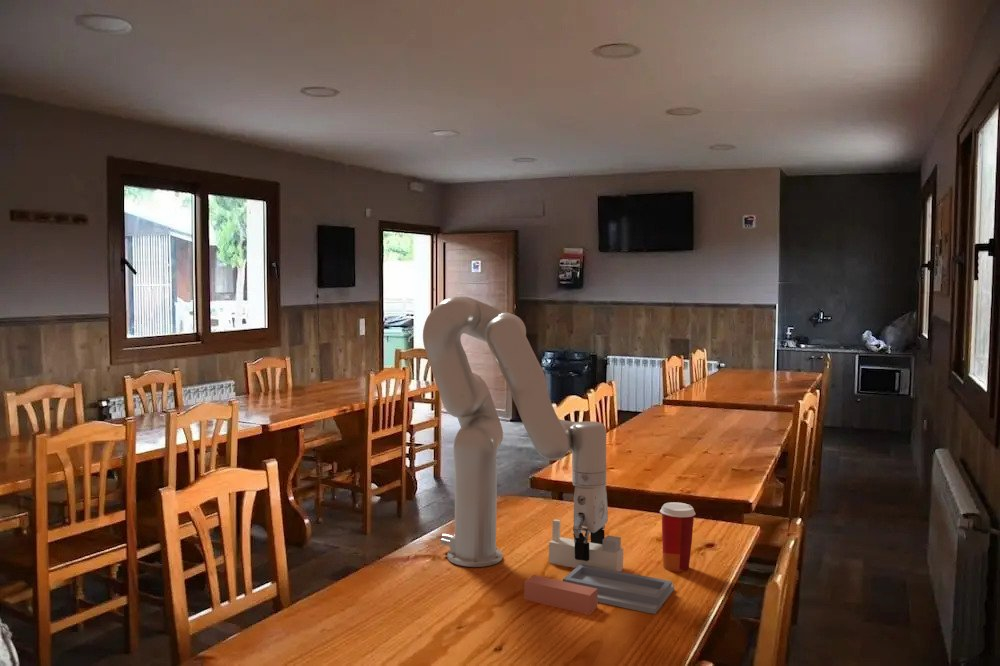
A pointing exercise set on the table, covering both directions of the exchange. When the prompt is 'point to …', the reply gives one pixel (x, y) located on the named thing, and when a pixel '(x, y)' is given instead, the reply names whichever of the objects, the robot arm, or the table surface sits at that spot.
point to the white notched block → (598, 553)
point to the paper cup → (677, 535)
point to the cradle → (623, 588)
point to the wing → (561, 594)
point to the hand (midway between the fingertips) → (589, 553)
